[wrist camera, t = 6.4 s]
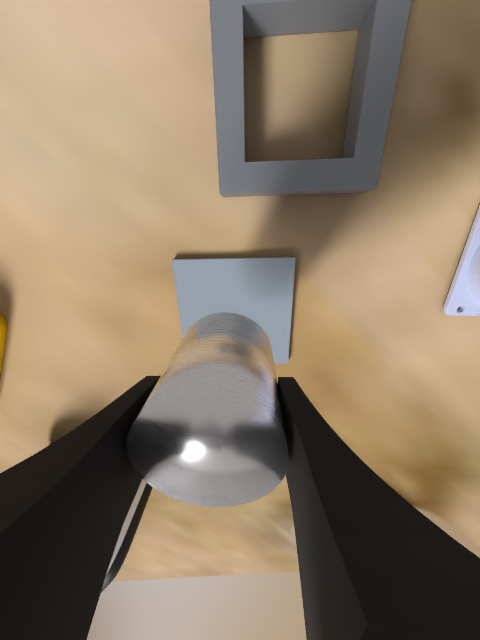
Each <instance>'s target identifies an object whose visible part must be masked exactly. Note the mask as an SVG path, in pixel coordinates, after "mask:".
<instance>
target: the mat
mask: <svg viewBox="0 0 480 640" xmlns="http://www.w3.org/2000/svg"><path fill="white" fill-rule="evenodd" d="M295 259H296V258H295V257H253V258H200V259H173V260H172V266H173V273H174V280H175V287H176V294H177V301H178V308H179V315H180V322H181V329H182V336H183V338H184V336H185V334H186V333H187V331H188V330H189V328H190V327H191V326H192V325H193V324H194V323H195V322H196V321H198V320H199V319H201V318H203V317H205V316H207V315H210V314H214V313H221V312H228V313H235V314H240V315H243V316H245V317H247V318H249V319H251V320H253V321H254V322H256V323H257V324H258V325H259V326H260V327H261V328H262V329H263V330H264V331H265V332H266V334H267V336H268V337H269V340H270V342H271V346H272V351H273V358H274V364H288V357H289V343H290V329H291V315H292V301H293V287H294V273H295Z"/></svg>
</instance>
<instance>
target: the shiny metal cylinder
mask: <svg viewBox="0 0 480 640" xmlns="http://www.w3.org/2000/svg"><path fill="white" fill-rule="evenodd" d="M126 448H127V454H128V457H129V460H130V462H131V464H132V466H133V468H134V469H135V471H136V472H137V473H138V475H139V476H140V477H141V478H142V479H143V480H144V481H146V482H147V483H148V484H149V485H150V486H152V487H153V488H155V489H156V490H158V491H159V492H161V493H163V494H165V495H167V496H169V497H172V498H174V499H177V500H180V501H183V502H186V503H190V504H195V505H200V506H209V507H226V506H235V505H240V504H245V503H248V502H252V501H254V500H257V499H259V498H261V497H263V496H265V495H267V494H268V493H269V492H271V491H272V490H274V489H275V488H276V487H277V486H278V485H279V484H280V482H281V481H282V479H283V478H284V476H285V474H286V472H287V468H288V463H289V455H288V448H287V441H286V435H285V429H284V422H283V416H282V409H281V403H280V396H279V390H278V384H277V377H276V371H275V364H274V358H273V351H272V346H271V342H270V340H269V337H268V336H267V334H266V332H265V331H264V330H263V329H262V328H261V327H260V326H259V325H258V324H257V323H256V322H254V321H253V320H251V319H249V318H247V317H245V316H243V315H240V314H235V313H228V312H221V313H214V314H210V315H207V316H205V317H203V318H201V319H199V320H198V321H196V322H195V323H194V324H193V325H192V326H191V327H190V328H189V330H188V331H187V333H186V334H185V336H184V338H183V339H182V341H181V343H180V344H179V346H178V348H177V350H176V351H175V353H174V355H173V356H172V358H171V360H170V361H169V363H168V365H167V367H166V368H165V370H164V372H163V373H162V375H161V377H160V378H159V380H158V382H157V384H156V385H155V387H154V389H153V390H152V392H151V394H150V395H149V397H148V399H147V401H146V402H145V404H144V406H143V407H142V409H141V411H140V412H139V414H138V416H137V418H136V419H135V421H134V423H133V424H132V426H131V428H130V430H129V433H128V436H127V444H126Z"/></svg>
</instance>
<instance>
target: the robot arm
mask: <svg viewBox="0 0 480 640" xmlns="http://www.w3.org/2000/svg"><path fill="white" fill-rule="evenodd" d="M459 307H460V308H459ZM458 308H459V310H457V309H458ZM443 312H444V313H445V314H447V315H450V316H469V315H480V206H479V209H478V212H477V214H476V217H475V220H474V223H473V226H472V228H471V231H470V234H469V237H468V240H467V242H466V245H465V248H464V251H463V254H462V256H461V259H460V262H459V265H458V268H457V270H456V273H455V276H454V279H453V282H452V284H451V287H450V290H449V293H448V296H447V299H446V301H445V304H444V307H443ZM160 377H161V376H146V377H145V378H143V379H142V380H141V381H139V382H138V383H137V384H135V385H134V386H133V387H131V388H130V389H129V390H128V391H126V392H125V393H124V394H122V395H121V396H120V397H118V398H117V399H116V400H114V401H113V402H112V403H111V404H109V405H108V406H107V407H105V408H104V409H103V410H101V411H100V412H98V413H97V414H95V415H94V416H93V417H91V418H90V419H88V420H87V421H86V422H84V423H83V424H81V425H80V426H78V427H77V428H76V429H74V430H73V431H71V432H70V433H68V434H67V435H65V436H63V437H62V438H60V439H59V440H57V441H56V442H54V443H52V444H51V445H49V446H47V447H46V448H44V449H43V450H41V451H39V452H38V453H36V454H34V455H33V456H31V457H29V458H27V459H25V460H24V461H22V462H20V463H18V464H16V465H15V466H13V467H11V468H9V469H8V470H6V471H4V472H2V473H0V640H86V639H87V636H88V633H89V629H90V626H91V622H92V619H93V616H94V613H95V609H96V606H97V603H98V600H99V596H100V593H101V590H102V587H103V584H104V580H105V577H106V574H107V571H108V568H109V565H110V562H111V559H112V556H113V553H114V550H115V547H116V544H117V541H118V538H119V535H120V532H121V529H122V526H123V524H124V521H125V518H126V515H127V512H128V509H129V507H130V504H131V502H132V499H133V497H134V494H135V492H136V490H137V487H138V485H139V483H140V481H141V477H140V476H139V475H138V473H137V472H136V471H135V469H134V468H133V466H132V464H131V462H130V460H129V457H128V454H127V448H126V444H127V436H128V433H129V430H130V428H131V426H132V424H133V423H134V421H135V419H136V418H137V416H138V414H139V412H140V411H141V409H142V407H143V406H144V404H145V402H146V401H147V399H148V397H149V395H150V394H151V392H152V390H153V389H154V387H155V385H156V384H157V382H158V380H159V378H160ZM278 390H279V396H280V403H281V409H282V416H283V422H284V429H285V435H286V441H287V448H288V455H289V463H288V468H287V472H286V478H287V483H288V488H289V493H290V499H291V505H292V511H293V519H294V527H295V535H296V544H297V553H298V562H299V571H300V580H301V589H302V598H303V608H304V617H305V626H306V637H307V640H480V558H479V557H477V556H476V555H475V554H473V553H472V552H471V551H469V550H468V549H467V548H465V547H464V546H463V545H461V544H460V543H458V542H457V541H456V540H454V539H453V538H452V537H451V536H449V535H448V534H447V533H445V532H444V531H443V530H442V529H440V528H439V527H438V526H437V525H435V524H434V523H433V522H432V521H430V520H429V519H428V518H427V517H425V516H424V515H423V514H422V513H420V512H419V511H418V510H417V509H416V508H414V507H413V506H412V505H411V504H410V503H409V502H407V501H406V500H405V499H404V498H403V497H402V496H401V495H399V494H398V493H397V492H396V491H395V490H394V489H392V488H391V487H390V486H389V485H388V484H387V483H386V482H384V481H383V480H382V479H381V478H380V477H379V476H378V475H377V474H376V473H375V472H373V471H372V470H371V469H370V468H369V467H368V466H367V465H366V464H365V463H364V462H363V461H362V460H361V459H360V458H359V457H358V456H357V455H356V454H355V453H354V452H353V451H352V450H351V449H350V448H349V447H348V446H347V445H346V444H345V443H344V441H343V440H342V439H341V438H340V437H339V436H338V435H337V434H336V433H335V431H334V430H333V429H332V428H331V427H330V426H329V424H328V423H327V422H326V421H325V420H324V418H323V417H322V416H321V415H320V413H319V412H318V411H317V410H316V408H315V407H314V406H313V405H312V403H311V402H310V401H309V399H308V398H307V396H306V395H305V394H304V392H303V391H302V389H301V388H300V386H299V385H298V383H297V382H296V380H295V379H294V378H293V377H278Z"/></svg>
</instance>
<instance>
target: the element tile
mask: <svg viewBox="0 0 480 640" xmlns="http://www.w3.org/2000/svg"><path fill="white" fill-rule="evenodd" d="M6 335H7V325H6V322H5V319H4V317H3V316H2V314H1V313H0V377H1V370H2V363H3V356H4V349H5V342H6Z"/></svg>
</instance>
